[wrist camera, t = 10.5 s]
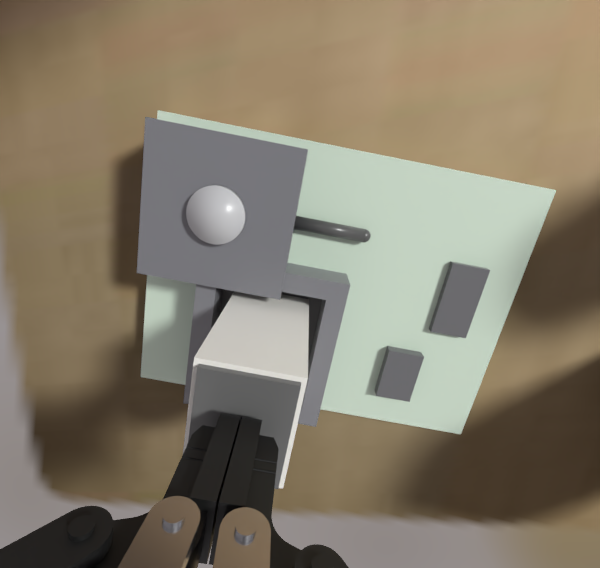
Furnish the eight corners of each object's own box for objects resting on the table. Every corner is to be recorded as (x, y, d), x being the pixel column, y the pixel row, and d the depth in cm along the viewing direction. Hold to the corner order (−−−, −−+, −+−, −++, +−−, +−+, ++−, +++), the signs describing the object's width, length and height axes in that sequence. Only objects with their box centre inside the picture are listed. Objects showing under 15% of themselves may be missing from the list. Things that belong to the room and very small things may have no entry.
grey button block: (167, 123, 18) (141, 115, 15) (386, 167, 18) (399, 167, 16) (157, 260, 20) (132, 275, 17) (354, 297, 21) (360, 317, 18)
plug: (237, 285, 20) (191, 361, 13) (309, 299, 21) (307, 382, 13) (224, 373, 22) (177, 488, 14) (290, 385, 22) (279, 505, 14)
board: (167, 113, 19) (139, 103, 16) (542, 188, 20) (584, 193, 17) (148, 366, 24) (124, 396, 21) (453, 421, 24) (474, 458, 21)
